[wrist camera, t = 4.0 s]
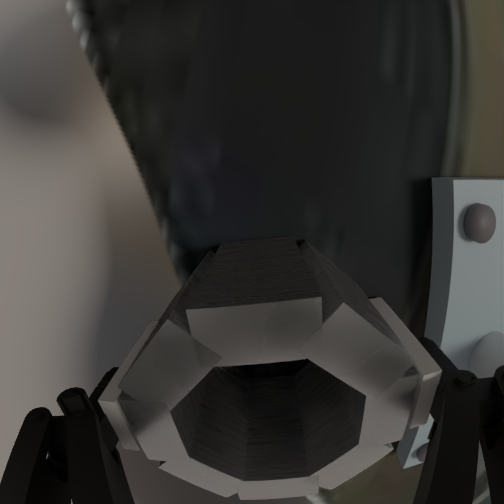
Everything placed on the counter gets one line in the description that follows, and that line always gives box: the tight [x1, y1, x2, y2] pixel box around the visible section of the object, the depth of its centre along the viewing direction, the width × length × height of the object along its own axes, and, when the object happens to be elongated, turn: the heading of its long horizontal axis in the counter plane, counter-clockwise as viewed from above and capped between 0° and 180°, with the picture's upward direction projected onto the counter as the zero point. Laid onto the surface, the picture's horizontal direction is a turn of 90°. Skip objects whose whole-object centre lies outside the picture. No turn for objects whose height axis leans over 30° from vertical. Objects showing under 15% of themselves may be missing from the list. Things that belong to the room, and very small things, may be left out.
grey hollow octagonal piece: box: [117, 236, 419, 500], centre depth 12 cm, size 10×10×7 cm
